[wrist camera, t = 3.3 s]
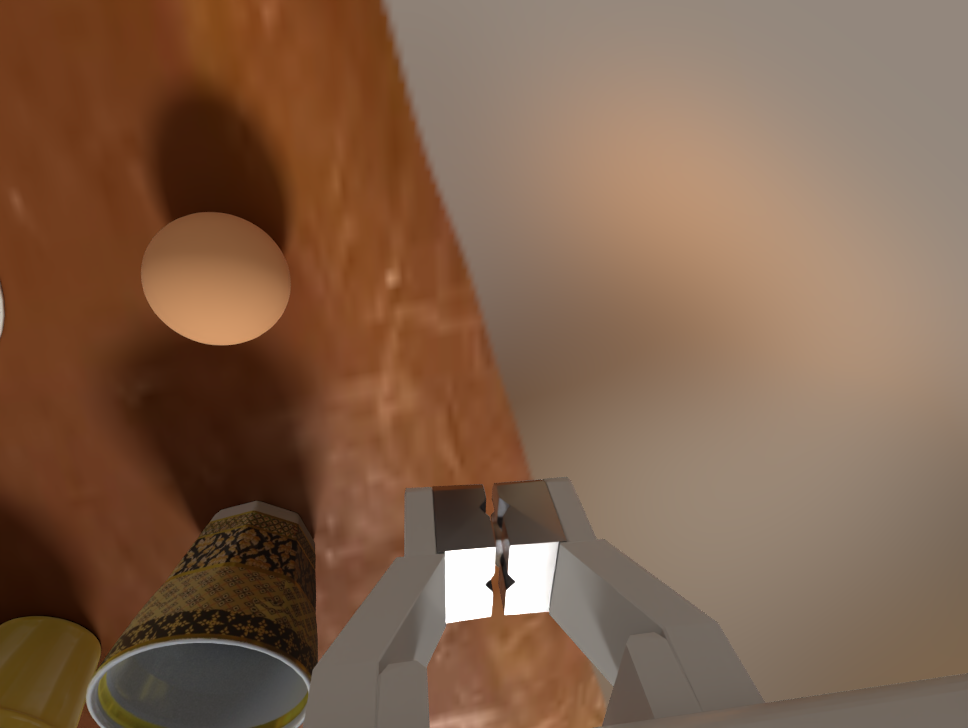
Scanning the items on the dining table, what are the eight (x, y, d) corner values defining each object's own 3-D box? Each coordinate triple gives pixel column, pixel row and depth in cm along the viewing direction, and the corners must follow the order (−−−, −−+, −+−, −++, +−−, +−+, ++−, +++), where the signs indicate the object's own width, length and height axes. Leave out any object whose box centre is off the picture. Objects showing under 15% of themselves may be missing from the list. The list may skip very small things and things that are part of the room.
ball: (192, 316, 24) (138, 371, 19) (160, 199, 22) (88, 229, 17) (308, 314, 25) (285, 365, 20) (292, 200, 22) (259, 229, 18)
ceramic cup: (143, 504, 29) (32, 676, 21) (305, 462, 29) (262, 615, 21) (241, 628, 36) (188, 799, 27) (374, 593, 36) (363, 751, 27)
